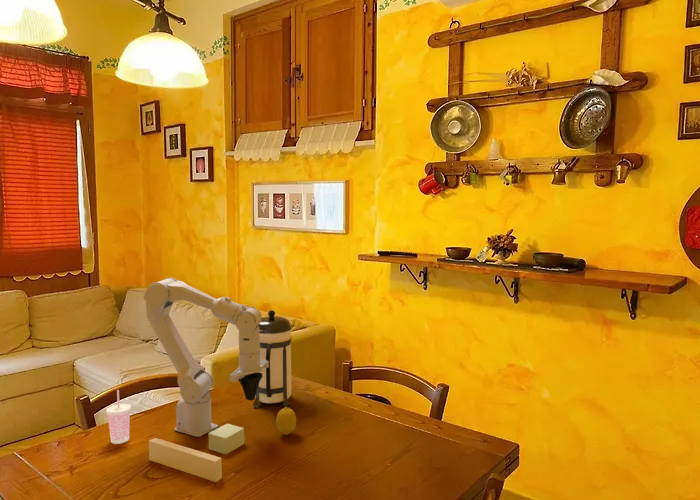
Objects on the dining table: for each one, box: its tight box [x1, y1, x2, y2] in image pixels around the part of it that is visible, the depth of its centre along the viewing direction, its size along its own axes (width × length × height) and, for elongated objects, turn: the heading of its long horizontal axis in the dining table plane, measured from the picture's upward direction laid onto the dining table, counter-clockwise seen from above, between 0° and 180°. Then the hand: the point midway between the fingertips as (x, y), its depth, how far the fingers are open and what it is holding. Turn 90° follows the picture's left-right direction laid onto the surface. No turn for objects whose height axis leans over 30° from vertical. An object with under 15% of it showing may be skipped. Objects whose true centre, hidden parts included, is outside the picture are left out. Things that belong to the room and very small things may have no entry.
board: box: [148, 437, 223, 483], centre depth 129 cm, size 22×2×5 cm, turn 62°
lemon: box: [275, 407, 297, 436], centre depth 147 cm, size 6×6×8 cm
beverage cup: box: [106, 389, 132, 445], centre depth 144 cm, size 6×6×14 cm
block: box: [207, 423, 245, 455], centre depth 141 cm, size 6×7×4 cm
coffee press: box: [252, 309, 293, 409], centre depth 169 cm, size 17×16×30 cm
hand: (250, 399), depth 149 cm, fingers closed
